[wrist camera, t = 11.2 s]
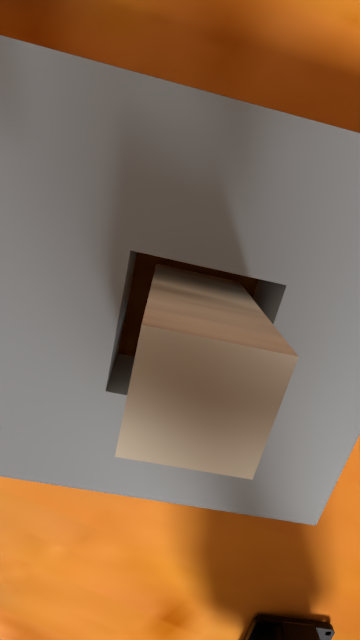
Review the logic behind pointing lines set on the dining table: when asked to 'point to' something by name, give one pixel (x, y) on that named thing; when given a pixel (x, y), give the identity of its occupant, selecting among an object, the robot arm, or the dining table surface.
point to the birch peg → (204, 377)
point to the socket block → (176, 244)
